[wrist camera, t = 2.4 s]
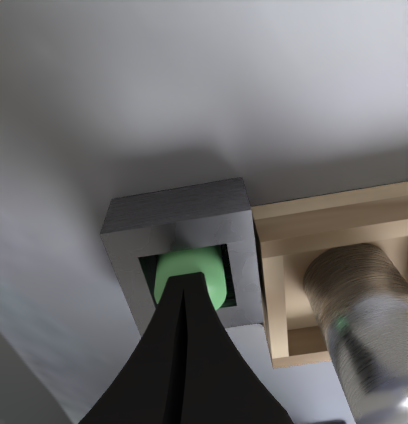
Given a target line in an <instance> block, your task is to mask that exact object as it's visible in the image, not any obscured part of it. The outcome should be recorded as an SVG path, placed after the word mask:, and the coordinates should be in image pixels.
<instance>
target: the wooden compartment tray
mask: <svg viewBox="0 0 408 424" xmlns="http://www.w3.org/2000/svg"><path fill="white" fill-rule="evenodd" d="M251 210H252V219H253V228H254V237H255V246H256V255H257V264H258V273H259V282H260V291H261V300H262V309H263V318H264V323H263V325H264V331H265V335H266V339H267V344H268V348H269V352H270V357H271V361H272V366H273V369H274V368H281V367H288V366H295V365H303V364H310V363H317V362H324V361H331V358H330V355H329V353H328V350H327V347H326V345H325V342H324V340H323V337H322V334H321V332H320V329H319V327H318V324H317V322H316V319H315V316H314V314H313V311H312V309H311V306H310V303H309V301H308V298H307V296H306V293H305V290H304V287H303V278H304V274H305V272H306V270H307V268H308V266H309V265H310V264H311V263H312V261H313V260H314V259H315V258H317V257H318V256H319V255H320V254H322V253H323V252H325V251H327V250H329V249H331V248H333V247H339V246H346V245H352V244H359V243H368V244H372V245H375V246H377V247H379V248H380V249H381V250H383V251H384V252H385V253H386V255H387V256H388V257H389V259H390V260H391V261H392V263H393V264H394V266H395V267H396V268H397V270H398V271H399V272H400V274H401V275H402V276H403V278H404V279H405V280H406V282H407V283H408V181H407V182H401V183H395V184H389V185H383V186H377V187H370V188H364V189H358V190H352V191H346V192H340V193H334V194H328V195H321V196H315V197H309V198H303V199H297V200H291V201H285V202H278V203H272V204H266V205H260V206H254V207H251Z"/></svg>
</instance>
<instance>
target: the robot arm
mask: <svg viewBox="0 0 408 424" xmlns="http://www.w3.org/2000/svg"><path fill="white" fill-rule="evenodd" d="M78 424H294V423H293V422H292V420H291V418H290V417H289V415H288V413H287V411H286V410H285V409H284V408H283V407H282V406H281V404H280V403H279V402H278V401H277V400H276V399H275V398H274V397H273V396H272V394H271V393H270V392H269V391H268V390H267V389H266V387H265V386H264V385H263V384H262V383H261V381H260V380H259V379H258V378H257V376H256V375H255V374H254V372H253V371H252V370H251V368H250V367H249V366H248V364H247V363H246V362H245V360H244V359H243V357H242V356H241V354H240V353H239V351H238V350H237V348H236V347H235V345H234V344H233V342H232V340H231V339H230V337H229V335H228V334H227V332H226V330H225V328H224V326H223V325H222V323H221V321H220V319H219V317H218V315H217V313H216V310H215V308H214V306H213V304H212V301H211V299H210V296H209V293H208V288H207V284H206V279H205V275H204V273H202V272H196V273H189V274H183V275H176V276H170V277H169V278H168V279H167V282H166V285H165V287H164V290H163V293H162V295H161V298H160V300H159V303H158V305H157V307H156V310H155V312H154V314H153V316H152V318H151V320H150V322H149V324H148V326H147V328H146V330H145V332H144V334H143V336H142V338H141V340H140V341H139V343H138V345H137V347H136V348H135V350H134V352H133V353H132V355H131V356H130V358H129V360H128V361H127V363H126V364H125V366H124V367H123V369H122V370H121V371H120V373H119V374H118V376H117V377H116V378H115V380H114V381H113V383H112V384H111V385H110V387H109V388H108V389H107V390H106V392H105V393H104V394H103V395H102V396H101V398H100V399H99V400H98V401H97V403H96V404H95V405H94V406H93V407H92V409H91V410H90V411H89V412H88V413H87V414H86V415H85V417H84V418H83V419H82V420H81V421H80V422H79V423H78Z"/></svg>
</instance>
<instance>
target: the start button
mask: <svg viewBox="0 0 408 424" xmlns="http://www.w3.org/2000/svg"><path fill="white" fill-rule="evenodd" d="M196 272H202V273H204V275H205V279H206V284H207V288H208V293H209V296H210V299H211V301H212V304H213V306H214V308H215V310H217V309H218V308H220V306H221V305H222V304H223V302H224V301H225V298H226V293H227V291H226V283H225V275H224V268H223V260H222V253H221V245H213V246H207V247H201V248H194V249H188V250H182V251H175V252H169V253H163V254H158V259H157V269H156V279H155V289H154V297H155V300H156V302H157V304H158V303H159V300H160V298H161V295H162V293H163V290H164V287H165V285H166V282H167V279H168V278H169V277H170V276H176V275H183V274H189V273H196Z"/></svg>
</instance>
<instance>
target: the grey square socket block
mask: <svg viewBox="0 0 408 424" xmlns="http://www.w3.org/2000/svg"><path fill="white" fill-rule="evenodd" d="M100 236H101V239H102V241H103V244H104V246H105V249H106V251H107V253H108V256H109V258H110V261H111V263H112V266H113V268H114V271H115V273H116V276H117V278H118V281H119V283H120V286H121V288H122V291H123V293H124V295H125V298H126V300H127V303H128V305H129V308H130V310H131V313H132V315H133V318H134V320H135V323H136V325H137V328H138V330H139V333H140V335H141V338H142V336H143V334H144V332H145V330H146V328H147V326H148V324H149V322H150V320H151V318H152V316H153V314H154V312H155V310H156V307H157V305H158V304H157V302H156V300H155V297H154V289H155V279H156V269H157V260H156V257H155V255H156V254H163V253H169V252H175V251H182V250H188V249H194V248H201V247H207V246H213V245H220V244H226V243H227V248H228V254H229V260H230V266H231V267H225V268H224V275H225V283H226V291H227V293H226V298H225V301H224V302H223V304H222V305H221V306H220V308H218V309H217V310H216V313H217V315H218V317H219V319H220V321H221V323H222V325H223V326H224V328H229V327H236V326H243V325H250V324H257V323H264V318H263V309H262V300H261V291H260V282H259V273H258V264H257V255H256V246H255V237H254V228H253V219H252V210H251V207H250V203H249V200H248V196H247V193H246V189H245V186H244V183H243V179H242V178H236V179H230V180H224V181H218V182H212V183H206V184H200V185H194V186H188V187H182V188H176V189H170V190H164V191H158V192H152V193H146V194H140V195H134V196H128V197H122V198H116V199H112V200H111V203H110V206H109V209H108V212H107V215H106V218H105V221H104V224H103V227H102V230H101V233H100Z"/></svg>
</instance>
